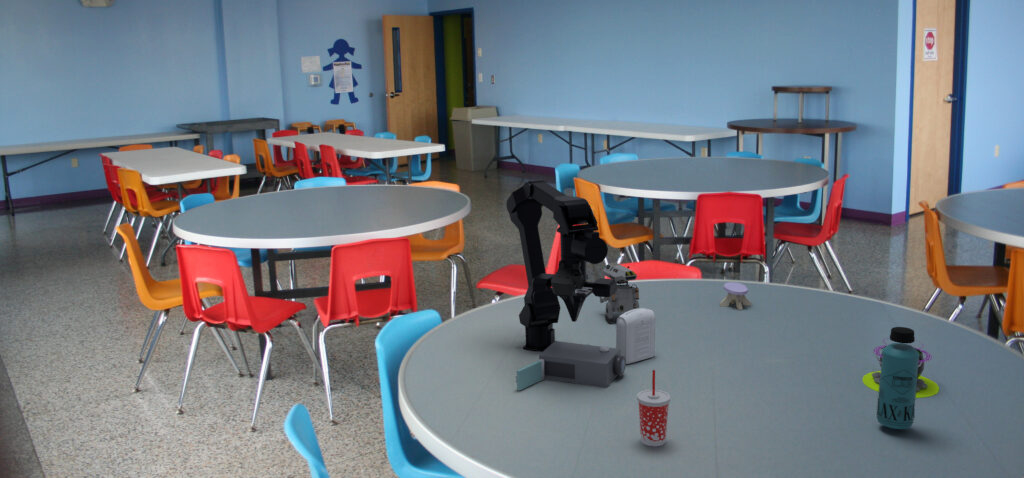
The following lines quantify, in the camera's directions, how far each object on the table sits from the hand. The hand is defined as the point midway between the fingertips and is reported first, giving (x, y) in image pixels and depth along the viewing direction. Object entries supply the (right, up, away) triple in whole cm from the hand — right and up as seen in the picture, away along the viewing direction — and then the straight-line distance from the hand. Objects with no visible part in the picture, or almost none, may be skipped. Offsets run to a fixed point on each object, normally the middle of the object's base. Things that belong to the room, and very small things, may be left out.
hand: (574, 321), depth 184 cm
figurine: (+16, -3, +40) cm, 43 cm away
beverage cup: (+12, -19, -33) cm, 40 cm away
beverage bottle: (+58, -18, -31) cm, 68 cm away
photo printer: (+15, -10, +9) cm, 20 cm away
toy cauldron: (+69, -13, -11) cm, 71 cm away
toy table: (+50, -1, +48) cm, 70 cm away
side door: (-10, -13, -5) cm, 18 cm away
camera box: (+1, -12, 0) cm, 12 cm away
